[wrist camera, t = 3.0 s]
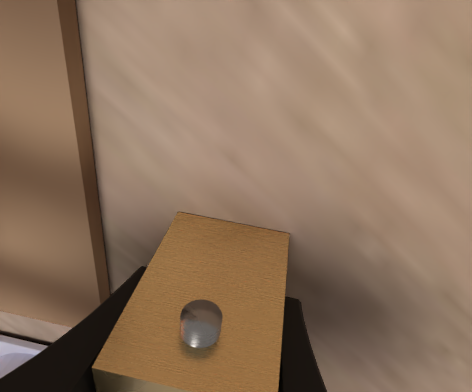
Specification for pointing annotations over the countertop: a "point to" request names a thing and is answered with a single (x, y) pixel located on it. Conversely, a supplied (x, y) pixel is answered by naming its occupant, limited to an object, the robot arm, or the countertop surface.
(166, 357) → the wooden block
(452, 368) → the countertop surface
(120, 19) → the countertop surface
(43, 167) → the walnut base plate
